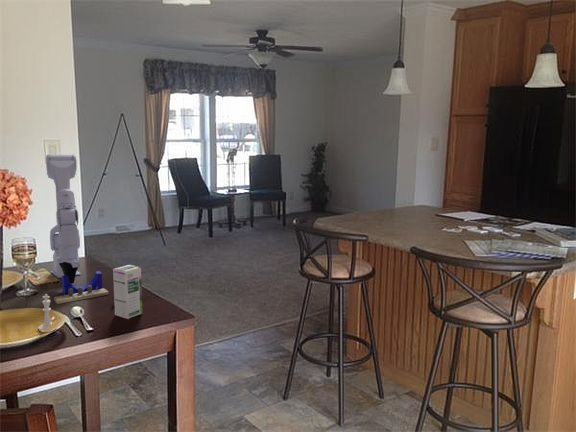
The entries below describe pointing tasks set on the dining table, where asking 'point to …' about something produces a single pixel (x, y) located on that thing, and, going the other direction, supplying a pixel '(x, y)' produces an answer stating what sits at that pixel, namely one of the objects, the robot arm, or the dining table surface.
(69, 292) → the coat hook rack
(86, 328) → the dining table surface
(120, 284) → the syrup box
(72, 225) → the robot arm
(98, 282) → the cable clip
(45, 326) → the chess piece
